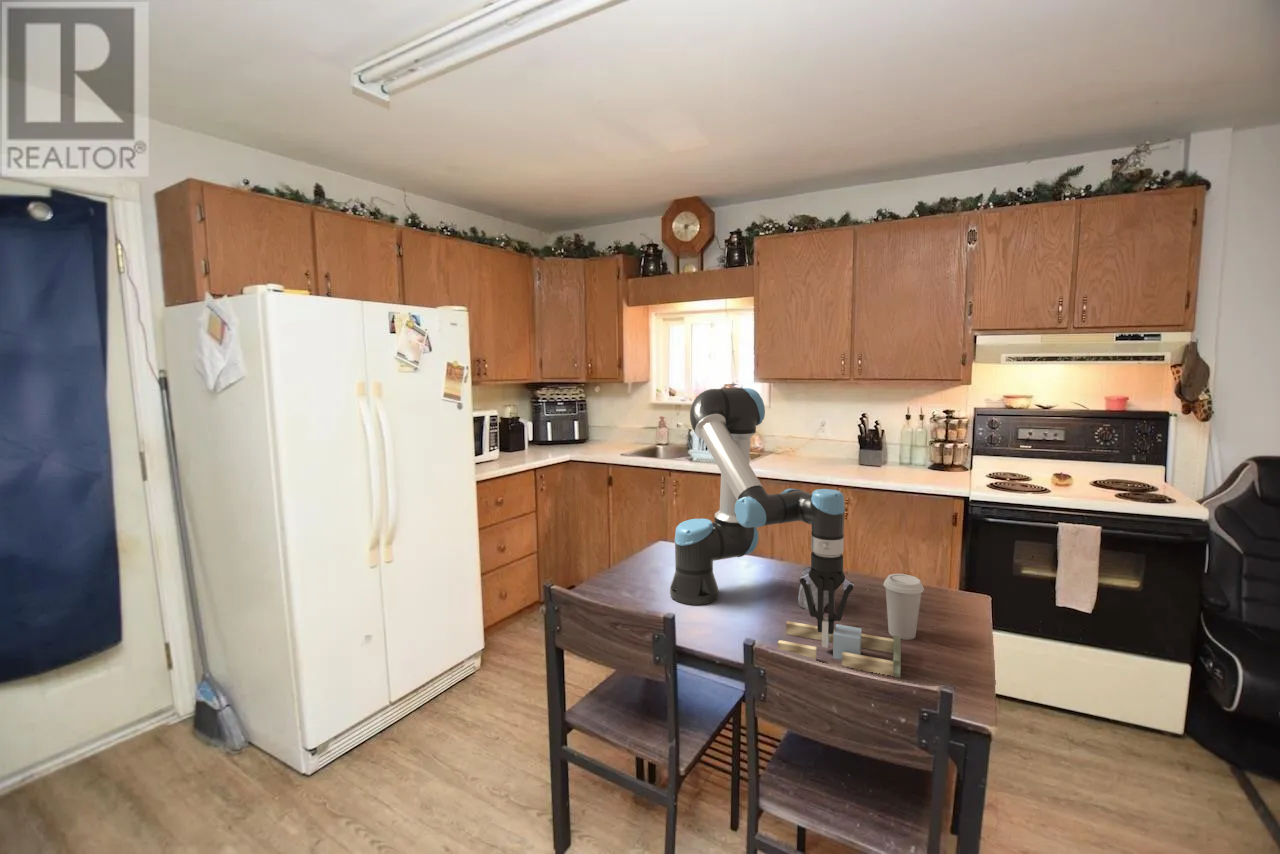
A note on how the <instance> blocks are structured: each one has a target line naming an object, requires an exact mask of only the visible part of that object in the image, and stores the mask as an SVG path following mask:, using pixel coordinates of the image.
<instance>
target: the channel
mask: <svg viewBox="0 0 1280 854" xmlns="http://www.w3.org/2000/svg"><path fill="white" fill-rule="evenodd" d="M785 628H786V630H785V632H786V633H785V634H786V635H790V636H795V637H801V638H804V639H805V638H806V639H811V640H816V641H822V632H818V630H817V628H818V625H814V624H807V623H801V622H797V621H795V622H794V621H791V620H790V621H789V620H787V621H786V624H785ZM834 630H835V628H834ZM833 634H834V632H833ZM833 634H829V643H833ZM901 643H902V642H901V639H900V636H896V635H894V637H893V638H890V637H883V636H878V635H872V634H866V633H861V649H862V648H863V649H868V650H872V651H879V652H884V653H889V654H890V653H891V654H893V655H892V660H889V659H884V658H880V657H879V658H878V657H873V656H867V655H863V654H860V655H858V654H852V653H847V652H843V653H842V660H841V666H842V665H844V666H849V667H852V668H855V669H854V670H856V669H857V671H861V670H863V671H862V672H867V673H871V672H873V674H876V673H877V674H876V675H882V674H885V675H884V676H887V675H891V676H890V677H892V675H893V676H896V677H895V678H897V677H900V678H901V664H902V663H901V662H902V660H901V659H902V658H901V657H902V655H901V654H902V653H901V652H902V651H901V648H902V647H901V645H902V644H901ZM778 649H781V650H785V651H789V652H793V653H796V654H799V655H803V656H807V657H810V658H813V659H816V660H817V649H818V647H817V646H813V645H809V644H802V643H798V642H792V641H788V640H781V639H778V641H777V650H778ZM879 673H880V674H879Z"/></svg>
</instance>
